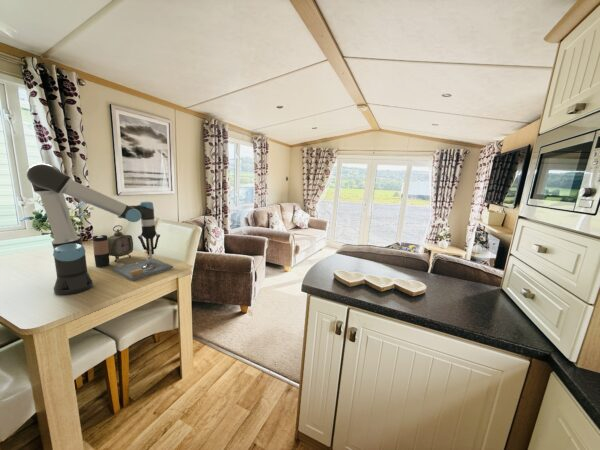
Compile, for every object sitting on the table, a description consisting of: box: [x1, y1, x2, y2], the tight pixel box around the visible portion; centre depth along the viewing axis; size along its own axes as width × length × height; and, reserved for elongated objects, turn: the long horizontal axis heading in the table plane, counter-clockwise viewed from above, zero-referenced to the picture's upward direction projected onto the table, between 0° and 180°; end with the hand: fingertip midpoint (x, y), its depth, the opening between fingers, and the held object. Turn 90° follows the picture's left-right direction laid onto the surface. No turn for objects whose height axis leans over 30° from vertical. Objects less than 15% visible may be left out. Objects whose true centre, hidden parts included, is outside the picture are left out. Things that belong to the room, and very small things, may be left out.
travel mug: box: [92, 234, 111, 268], centre depth 157 cm, size 8×8×20 cm
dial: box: [142, 254, 153, 269], centre depth 157 cm, size 15×6×5 cm, turn 29°
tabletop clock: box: [107, 224, 134, 263], centre depth 169 cm, size 14×9×25 cm, turn 168°
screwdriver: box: [129, 267, 153, 276], centre depth 146 cm, size 12×3×3 cm, turn 149°
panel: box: [112, 258, 174, 282], centre depth 156 cm, size 25×24×2 cm
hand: (151, 258), depth 162 cm, fingers closed
